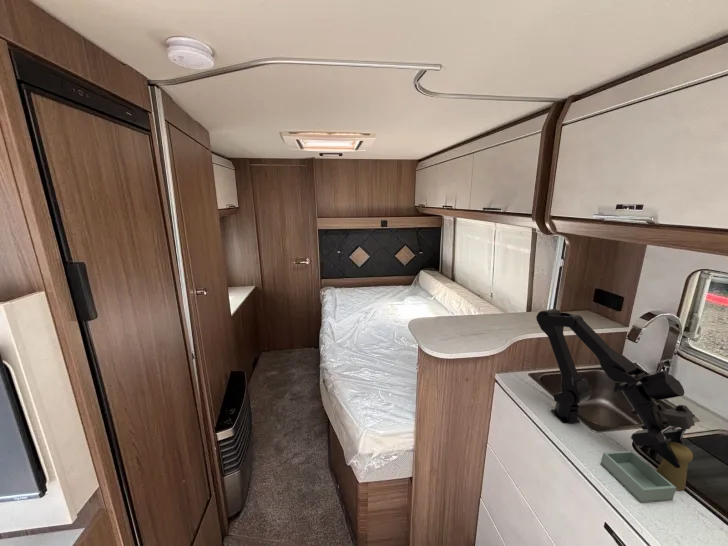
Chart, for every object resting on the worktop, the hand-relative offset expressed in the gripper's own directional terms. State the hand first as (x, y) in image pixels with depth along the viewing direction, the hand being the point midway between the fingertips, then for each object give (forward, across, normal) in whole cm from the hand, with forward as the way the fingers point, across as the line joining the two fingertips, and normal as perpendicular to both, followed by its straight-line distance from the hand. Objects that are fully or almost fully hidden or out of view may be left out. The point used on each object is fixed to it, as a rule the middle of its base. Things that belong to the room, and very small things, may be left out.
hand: (683, 464), depth 82 cm
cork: (+4, 0, +6) cm, 7 cm away
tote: (+1, -9, +9) cm, 13 cm away
